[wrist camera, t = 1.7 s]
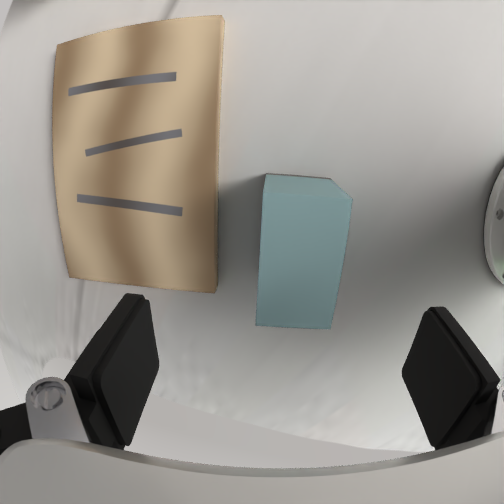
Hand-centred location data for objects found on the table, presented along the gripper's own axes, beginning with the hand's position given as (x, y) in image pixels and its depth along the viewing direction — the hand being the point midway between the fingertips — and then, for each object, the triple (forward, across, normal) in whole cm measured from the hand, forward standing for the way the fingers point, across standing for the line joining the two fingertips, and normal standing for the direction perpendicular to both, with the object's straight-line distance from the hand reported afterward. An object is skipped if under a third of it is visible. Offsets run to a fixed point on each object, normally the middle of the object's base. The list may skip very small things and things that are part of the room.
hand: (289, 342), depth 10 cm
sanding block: (+11, -1, 0) cm, 11 cm away
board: (+12, +10, -5) cm, 16 cm away
